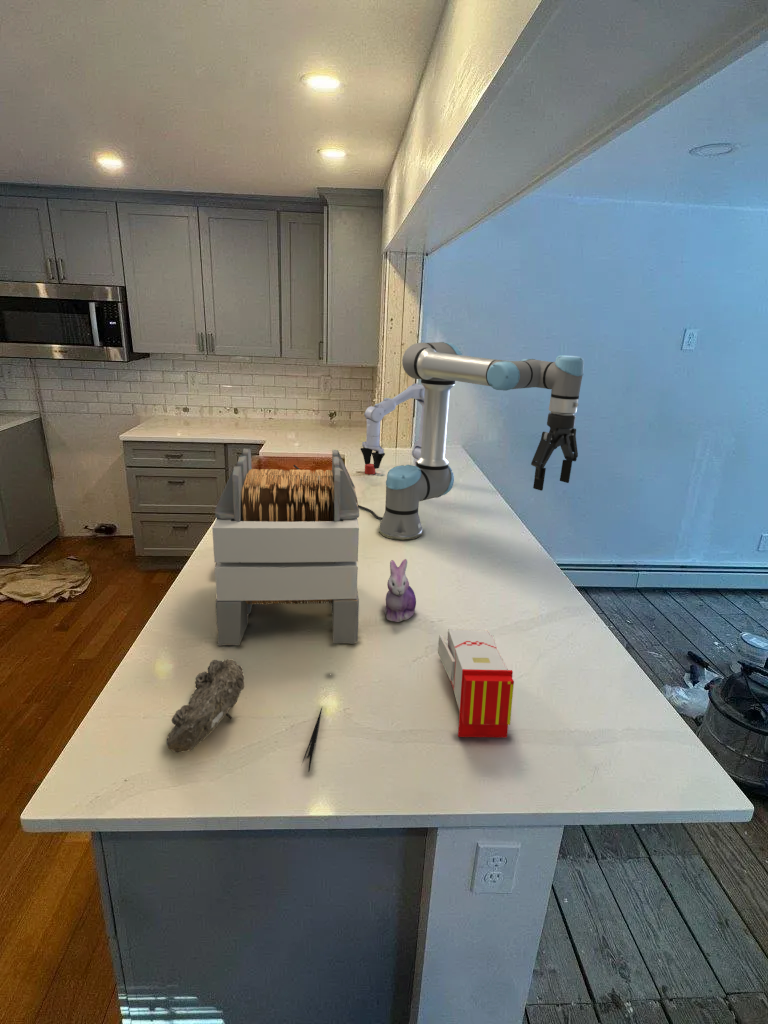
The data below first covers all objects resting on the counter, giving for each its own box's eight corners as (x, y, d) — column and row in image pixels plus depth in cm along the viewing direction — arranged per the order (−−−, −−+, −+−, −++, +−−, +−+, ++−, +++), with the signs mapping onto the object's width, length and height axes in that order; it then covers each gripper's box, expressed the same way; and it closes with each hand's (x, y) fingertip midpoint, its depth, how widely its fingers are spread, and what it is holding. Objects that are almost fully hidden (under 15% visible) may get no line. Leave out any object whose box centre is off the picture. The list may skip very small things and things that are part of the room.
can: (364, 474, 269) (365, 466, 268) (364, 471, 274) (364, 463, 272) (375, 474, 269) (375, 466, 268) (374, 471, 274) (375, 463, 273)
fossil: (192, 660, 117) (244, 628, 112) (224, 691, 120) (276, 661, 115) (142, 746, 98) (202, 712, 93) (182, 779, 101) (242, 748, 96)
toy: (488, 613, 130) (523, 677, 101) (484, 667, 133) (517, 744, 104) (435, 612, 130) (455, 676, 101) (432, 666, 133) (451, 743, 103)
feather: (331, 679, 122) (336, 673, 122) (307, 777, 96) (313, 769, 95) (324, 675, 122) (329, 669, 121) (298, 772, 95) (304, 764, 95)
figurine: (392, 627, 141) (395, 572, 136) (374, 608, 149) (376, 556, 144) (425, 619, 145) (429, 566, 140) (405, 601, 154) (408, 550, 149)
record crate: (235, 580, 161) (228, 439, 147) (350, 579, 165) (354, 441, 151) (215, 647, 129) (204, 476, 115) (358, 644, 133) (363, 478, 119)
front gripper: (548, 419, 148) (537, 496, 155) (597, 411, 164) (585, 481, 171) (524, 414, 153) (515, 489, 161) (574, 407, 169) (563, 475, 176)
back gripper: (356, 432, 245) (355, 463, 250) (374, 439, 234) (372, 471, 238) (370, 431, 249) (369, 461, 253) (388, 438, 237) (386, 469, 242)
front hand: (551, 485), depth 166 cm, fingers open, 13 cm apart
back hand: (371, 466), depth 246 cm, fingers open, 7 cm apart
